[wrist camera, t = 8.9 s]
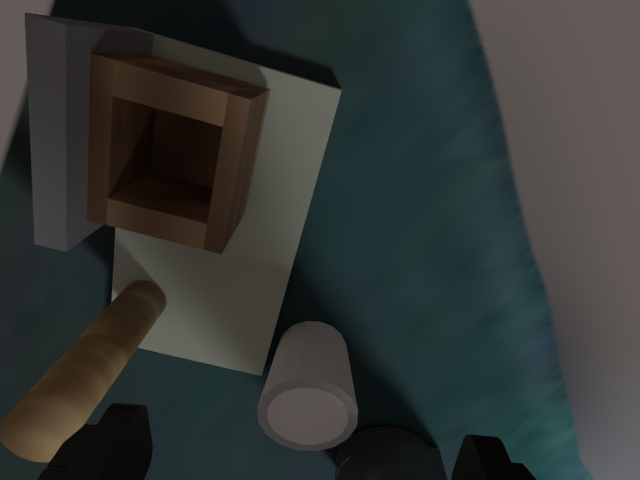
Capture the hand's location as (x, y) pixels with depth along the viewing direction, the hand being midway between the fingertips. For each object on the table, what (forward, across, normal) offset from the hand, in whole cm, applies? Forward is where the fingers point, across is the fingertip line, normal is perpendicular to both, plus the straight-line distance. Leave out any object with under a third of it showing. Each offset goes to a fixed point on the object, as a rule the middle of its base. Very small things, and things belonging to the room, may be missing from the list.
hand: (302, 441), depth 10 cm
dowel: (+18, +13, +9) cm, 23 cm away
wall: (+18, +12, -4) cm, 22 cm away
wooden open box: (+18, +8, -4) cm, 20 cm away
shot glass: (+19, 0, +13) cm, 23 cm away
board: (+19, +8, +3) cm, 21 cm away
